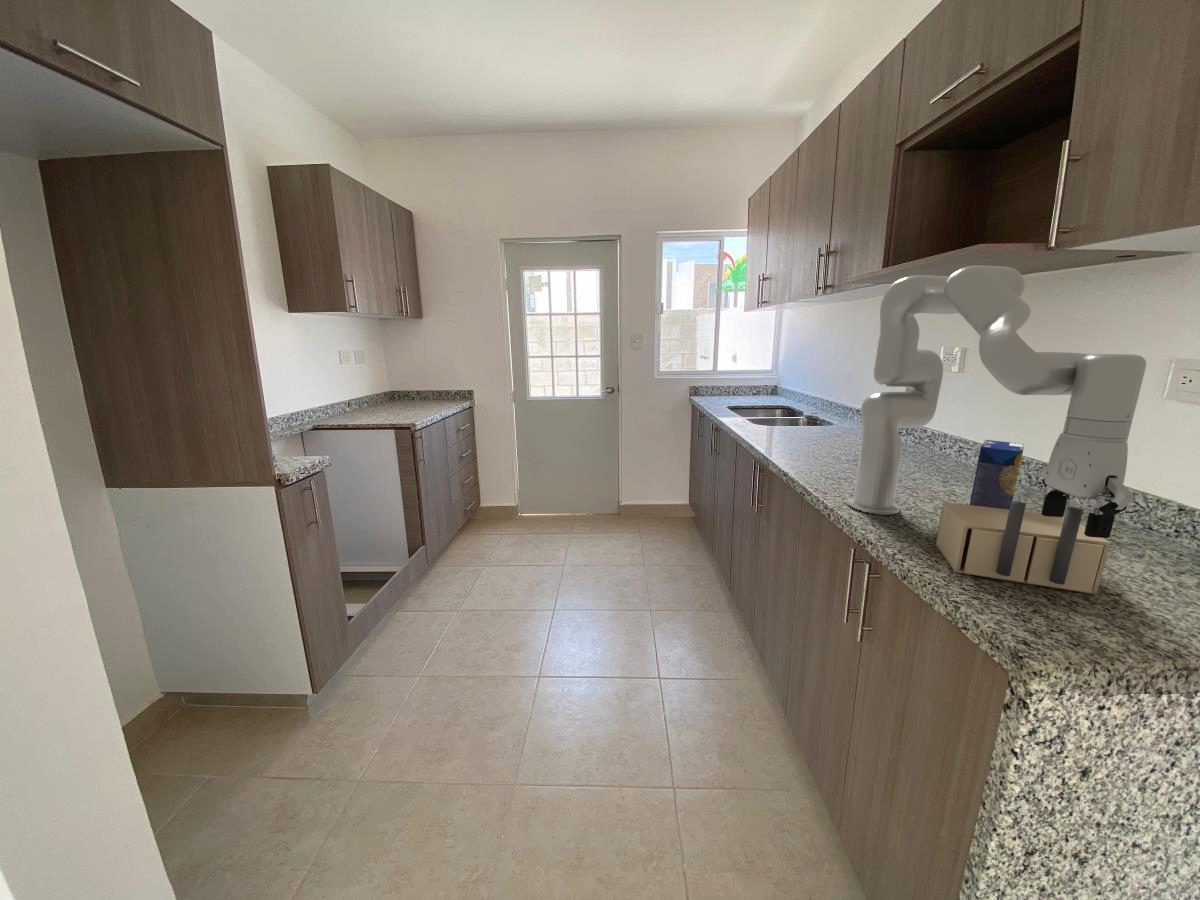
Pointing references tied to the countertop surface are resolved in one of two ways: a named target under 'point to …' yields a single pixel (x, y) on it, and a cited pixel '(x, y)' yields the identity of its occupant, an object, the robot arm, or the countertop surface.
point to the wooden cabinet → (967, 517)
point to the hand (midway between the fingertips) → (1072, 525)
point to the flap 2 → (1065, 558)
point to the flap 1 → (1000, 549)
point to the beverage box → (996, 474)
